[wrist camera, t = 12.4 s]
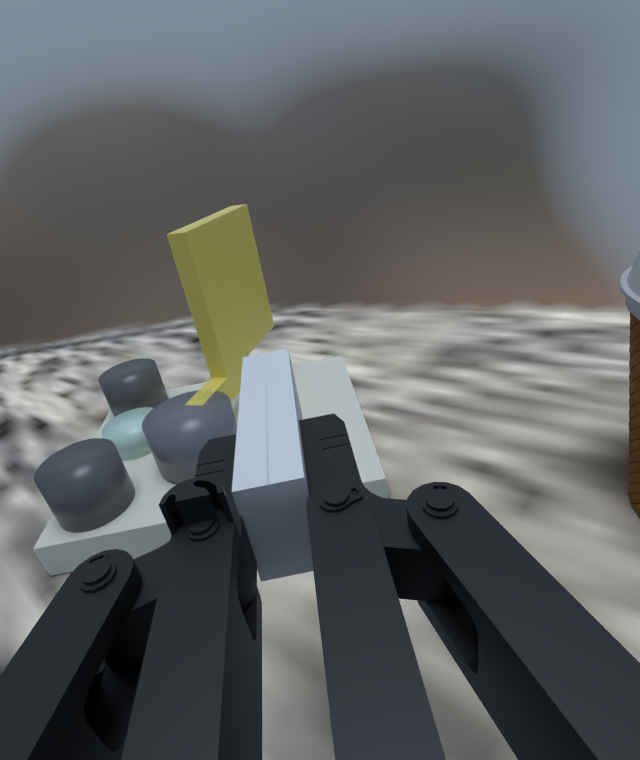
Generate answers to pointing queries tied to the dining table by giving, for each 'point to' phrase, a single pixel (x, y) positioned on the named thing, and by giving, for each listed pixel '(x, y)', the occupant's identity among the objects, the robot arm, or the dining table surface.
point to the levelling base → (139, 469)
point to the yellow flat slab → (212, 335)
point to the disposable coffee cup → (634, 377)
